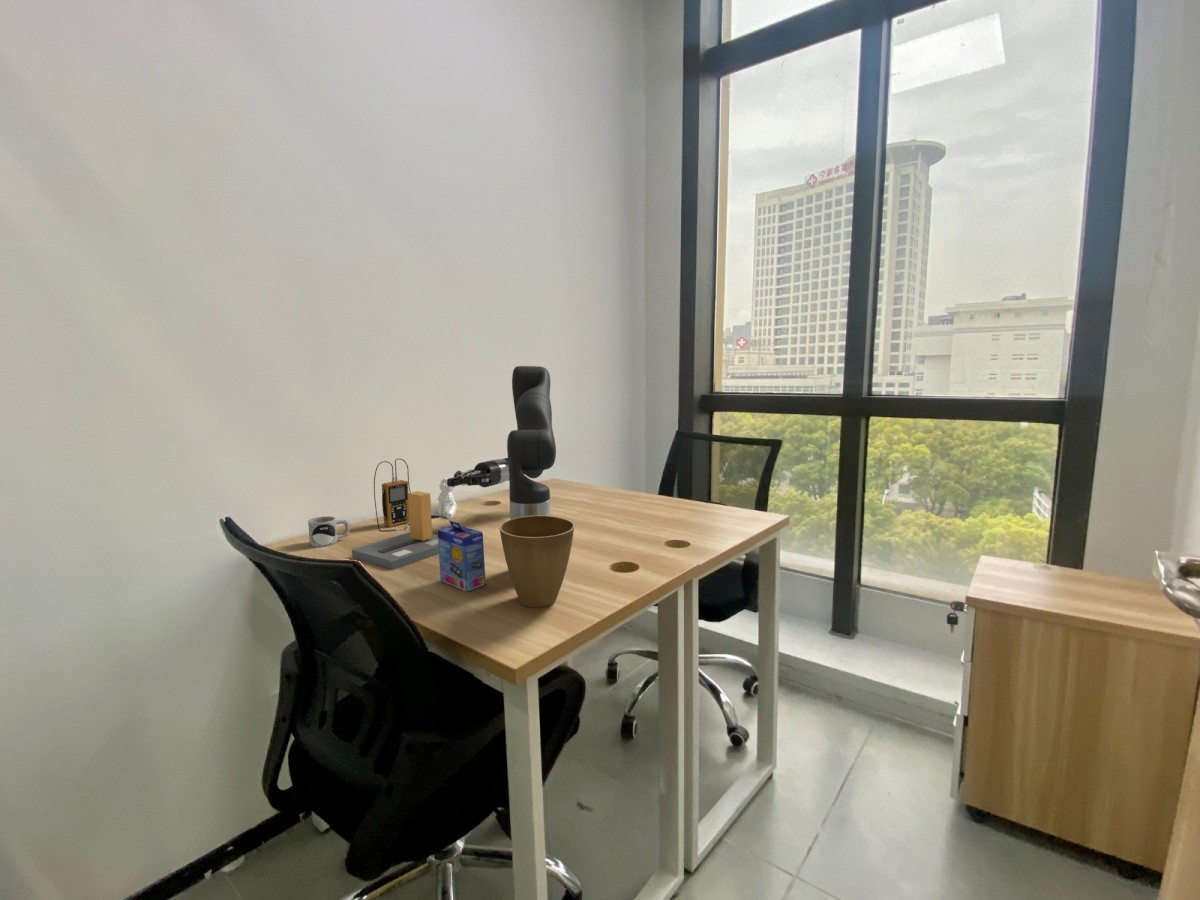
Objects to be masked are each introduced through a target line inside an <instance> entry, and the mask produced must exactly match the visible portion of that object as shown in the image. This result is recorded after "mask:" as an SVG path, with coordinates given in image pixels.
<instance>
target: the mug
mask: <svg viewBox="0 0 1200 900" xmlns="http://www.w3.org/2000/svg"><path fill="white" fill-rule="evenodd" d="M307 524H308V525H307V526H308V535H309V547H312V548H326V547H330V546H334V545H336V544H337V543H338V540H340V539H343V538H345V537H348V536H349V535H350V524H349V521H348V520H346V519H336V517H335V516H319V517H318V516H317V517H314V518H313V517H312V518H310V519H308V522H307ZM340 524H343V525H344V528H345V531H344V532H343V533H340V534H339V533H338V532H337V525H340Z"/></svg>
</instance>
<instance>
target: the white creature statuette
mask: <svg viewBox="0 0 1200 900" xmlns="http://www.w3.org/2000/svg"><path fill="white" fill-rule="evenodd" d="M447 479H449V478H448V477H444V478H443V479H441V481H440V484H439V490H440V491H441V492H440V493H439V495H438V497H437V501H438V502H439V503H438V506H435V507H431V516H432V517H442V518H447V520H451V519H453V518H454V517H455V514H456V512H457V510H458V506H457V503H456V501H455V497H454V494H453V493H452V491H453V490H454V488H455V487H456V486H454V487H449V486H447Z"/></svg>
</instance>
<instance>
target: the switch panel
mask: <svg viewBox="0 0 1200 900" xmlns="http://www.w3.org/2000/svg"><path fill="white" fill-rule="evenodd" d="M435 555H439V545H438V534H435V533H432V538H430V539H427V540H424V541H422V540H418V539H414V538H410V531H409V532H405V533H402V534H400V535H396V536H393V537H389V538H385V539H382V540H379V541H376V542H372V543H369V544H366V545H363V546H362V545H361V546H360V547H359V546H358V547H356V548H353V549H352V548H351V557H352V558H353V557H356V558H355V559H357V558H359V559H358V560H360V559H362V560H361V561H363V560H364V562H366V561H368V563H370V564H373V565H377V566H380V567H383V568H387V569H390V570H395V569H399V568H401V567H405V566H406V565H407V566H408V565H410V564H413V563H416V562H418V561H421V560H423V559H427V558H430V557H433V556H435Z"/></svg>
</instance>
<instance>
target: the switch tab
mask: <svg viewBox="0 0 1200 900" xmlns="http://www.w3.org/2000/svg"><path fill="white" fill-rule="evenodd" d="M408 498H409V518H410V521H409V532H410V538H414V539H418V540H422V541H424V540H427V539H430V538H432V534H433V528H432V527H433V525H432V517H431V508H432V506H431V505H432V504H431V503H432V502H431V493H430V492H429V493H428V492H424V491H412V492H411V493H410V492H408Z"/></svg>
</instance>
